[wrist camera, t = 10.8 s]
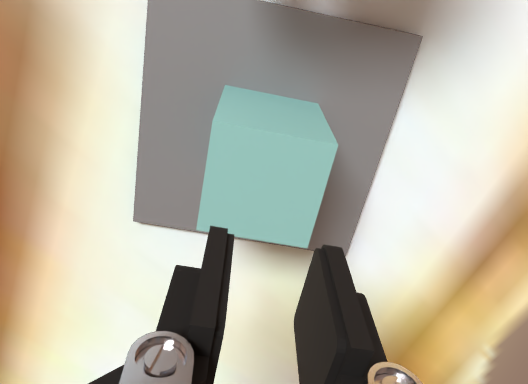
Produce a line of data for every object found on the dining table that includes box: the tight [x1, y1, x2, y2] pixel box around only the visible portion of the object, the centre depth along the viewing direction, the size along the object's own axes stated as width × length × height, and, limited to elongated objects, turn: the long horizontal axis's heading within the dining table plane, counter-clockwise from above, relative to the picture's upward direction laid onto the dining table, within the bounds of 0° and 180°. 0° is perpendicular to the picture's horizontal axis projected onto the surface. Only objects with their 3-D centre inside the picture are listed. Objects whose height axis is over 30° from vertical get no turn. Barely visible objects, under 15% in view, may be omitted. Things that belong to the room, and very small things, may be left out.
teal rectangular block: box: [196, 85, 338, 248], centre depth 21 cm, size 5×5×7 cm
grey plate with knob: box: [133, 0, 423, 256], centre depth 21 cm, size 14×14×6 cm
